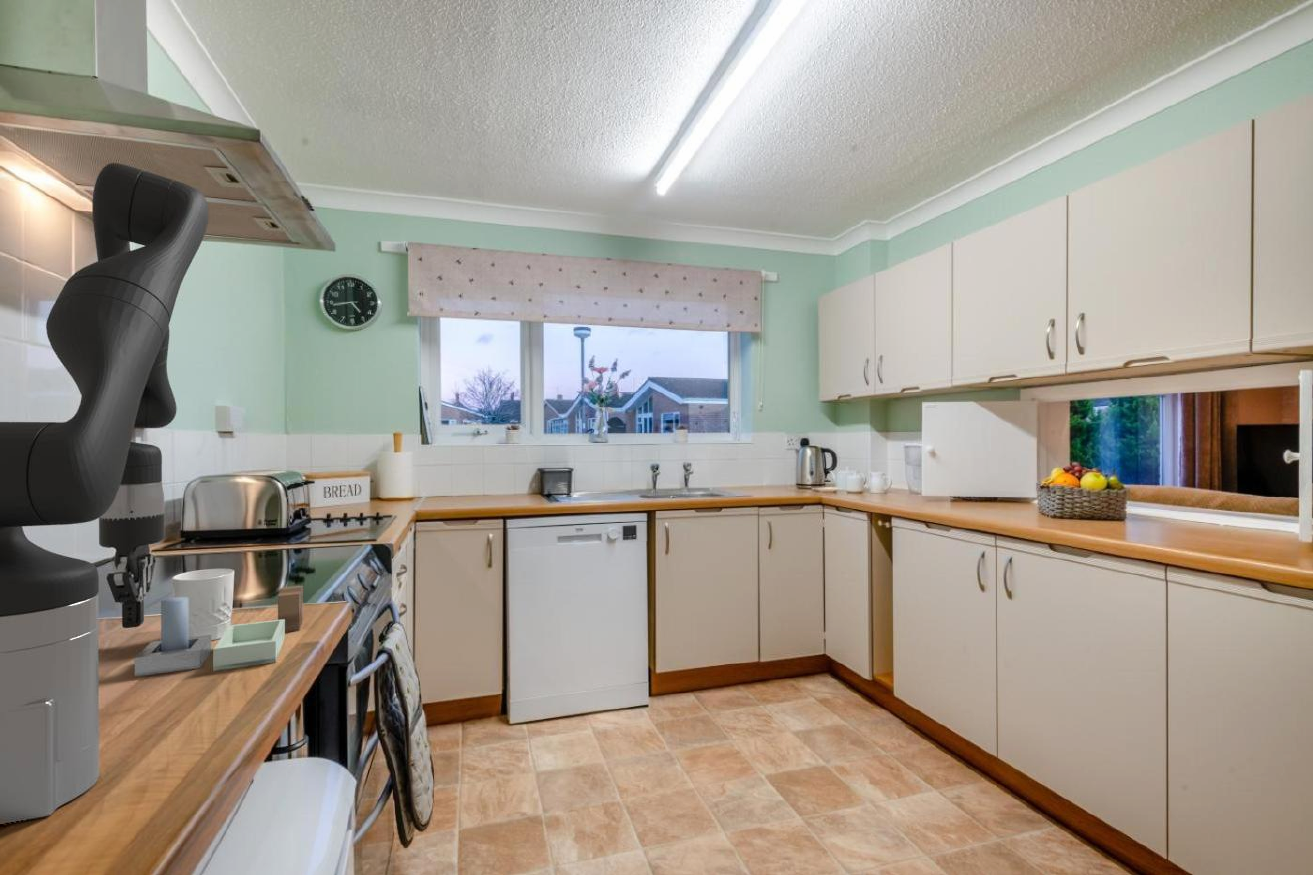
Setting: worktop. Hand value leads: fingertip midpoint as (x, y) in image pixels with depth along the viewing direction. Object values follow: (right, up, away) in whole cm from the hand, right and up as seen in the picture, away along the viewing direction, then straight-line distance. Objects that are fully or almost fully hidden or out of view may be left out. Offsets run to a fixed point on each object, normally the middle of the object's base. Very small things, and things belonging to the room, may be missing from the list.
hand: (133, 625), depth 92 cm
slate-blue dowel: (+12, -3, -7) cm, 15 cm away
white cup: (+8, -3, +4) cm, 9 cm away
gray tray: (+12, -3, -7) cm, 15 cm away
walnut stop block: (+19, -3, +9) cm, 21 cm away
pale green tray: (+21, -3, -4) cm, 21 cm away
